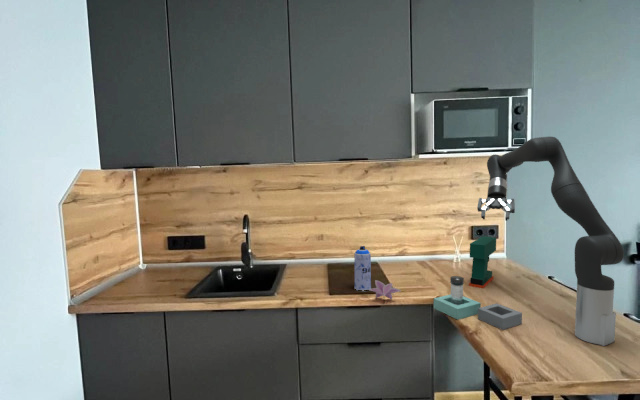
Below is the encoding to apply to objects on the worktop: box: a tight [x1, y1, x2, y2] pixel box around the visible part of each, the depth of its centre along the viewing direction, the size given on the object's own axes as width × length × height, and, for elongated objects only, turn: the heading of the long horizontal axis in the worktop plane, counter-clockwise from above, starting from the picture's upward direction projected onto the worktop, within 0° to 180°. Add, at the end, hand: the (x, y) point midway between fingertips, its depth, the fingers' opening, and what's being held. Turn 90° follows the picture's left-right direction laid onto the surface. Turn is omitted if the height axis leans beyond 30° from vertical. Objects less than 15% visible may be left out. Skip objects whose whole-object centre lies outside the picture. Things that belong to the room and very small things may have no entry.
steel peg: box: [449, 275, 465, 305], centre depth 134 cm, size 5×5×13 cm
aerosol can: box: [353, 245, 372, 292], centre depth 161 cm, size 8×8×20 cm
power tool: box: [468, 235, 497, 289], centre depth 172 cm, size 32×7×20 cm, turn 141°
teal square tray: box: [433, 293, 482, 320], centre depth 134 cm, size 12×12×4 cm
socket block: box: [477, 302, 523, 331], centre depth 124 cm, size 10×10×4 cm
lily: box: [369, 279, 402, 300], centre depth 144 cm, size 12×12×10 cm
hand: (494, 218), depth 145 cm, fingers open, 8 cm apart
